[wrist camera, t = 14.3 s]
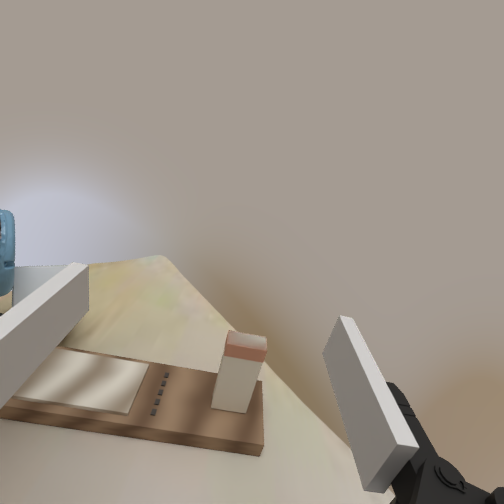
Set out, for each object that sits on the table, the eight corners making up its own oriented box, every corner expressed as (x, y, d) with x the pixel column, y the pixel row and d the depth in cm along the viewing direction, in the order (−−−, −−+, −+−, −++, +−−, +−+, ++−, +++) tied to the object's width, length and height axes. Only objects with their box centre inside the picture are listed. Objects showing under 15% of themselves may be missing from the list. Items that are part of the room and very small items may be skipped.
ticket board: (0, 418, 34) (-4, 401, 33) (53, 356, 44) (52, 341, 42) (259, 456, 37) (265, 442, 36) (258, 391, 46) (262, 378, 45)
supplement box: (66, 279, 53) (75, 264, 43) (67, 319, 51) (76, 312, 42) (15, 281, 48) (12, 265, 39) (14, 325, 47) (11, 319, 37)
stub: (210, 408, 39) (226, 343, 34) (212, 392, 41) (228, 330, 36) (245, 413, 39) (267, 351, 35) (246, 398, 42) (266, 337, 37)
